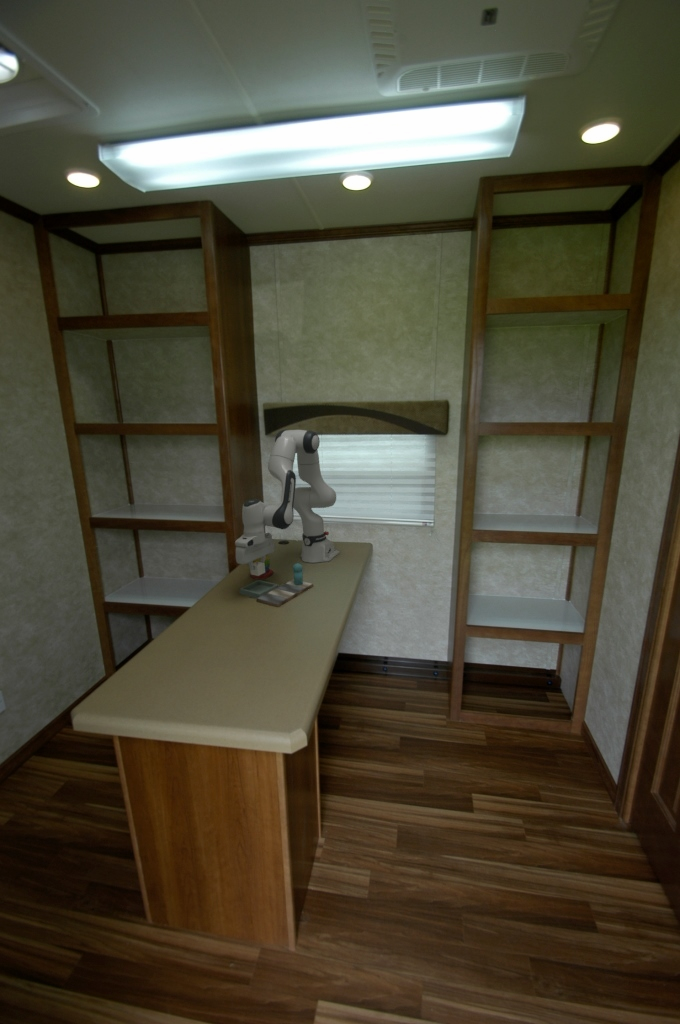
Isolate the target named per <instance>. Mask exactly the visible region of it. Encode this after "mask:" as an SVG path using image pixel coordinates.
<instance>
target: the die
mask: <svg viewBox="0 0 680 1024" xmlns="http://www.w3.org/2000/svg"><path fill="white" fill-rule="evenodd" d="M252 564H253V566H255V570H253V571H252V570H250V569H249V572H250V576H251V575H256V576H259V575H261V574H263V573H265V563H262V562H255V563H252Z"/></svg>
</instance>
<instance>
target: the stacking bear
mask: <svg viewBox="0 0 680 1024" xmlns="http://www.w3.org/2000/svg"><path fill="white" fill-rule="evenodd" d="M269 557H270V556H269V554H268V555H266V559H265V562H264V563H265V573H263V574H261V575H259V576H256V575H251V574H250V576H251V578H252V579H254V580H262V579H263V580H264V579H267V578H269V577H271V576H272V575H273V574H274V573H275V572H274V571H275V570H273V569H271V568H270V566H271V563H270V558H269ZM260 561H261V558H258V559H256V560H253V563H255V562H260Z"/></svg>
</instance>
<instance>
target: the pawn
mask: <svg viewBox="0 0 680 1024" xmlns="http://www.w3.org/2000/svg"><path fill="white" fill-rule="evenodd" d="M303 568H304V567H303V565H302V564H301V563H294V564H293V566H292V570H293V579H294V584H295V585H302V584H303V582H304V576H303Z"/></svg>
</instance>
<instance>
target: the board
mask: <svg viewBox="0 0 680 1024" xmlns="http://www.w3.org/2000/svg"><path fill="white" fill-rule="evenodd" d="M312 588H314V584H313V583H311V582H307V581H303V584H302V585H295V584H294V578H292V579H291V580H289V581H287V582H284V583H283V584H281V585H280V586H279V585H278V587H277V588H276V589H274V590H272V591H270V592H268V593H266V594H264V595H262V596H261V597H259V598H257V599H256V598H255V600H256V602H258V603H261V604H264V605H268V606H272V607H276V608H280V607H281V605H282V606H283V605H285V604H286V603H288V602H290V601H292V600H293V599H296V598H297V597H298V596H300V595H302V594H304V593H305V592H306V591H308V589H309V590H310V589H312Z"/></svg>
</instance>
